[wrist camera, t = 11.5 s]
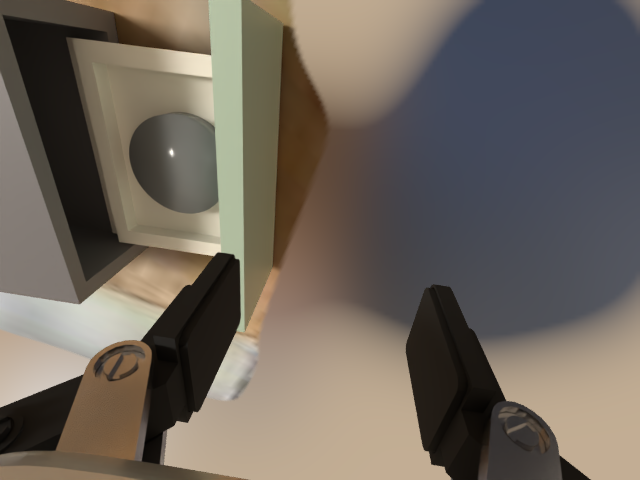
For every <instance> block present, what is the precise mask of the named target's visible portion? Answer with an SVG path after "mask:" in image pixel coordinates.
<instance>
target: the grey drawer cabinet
mask: <svg viewBox="0 0 640 480" xmlns="http://www.w3.org/2000/svg"><path fill="white" fill-rule="evenodd" d="M66 37H70V38H78V39H86V40H94V41H102V42H110V43H117V44H119V42H118V36H117V30H116V24H115V18H114V13H113V12H110V11H106V10H102V9H98V8H94V7H90V6H86V5H82V4H78V3H74V2H70V1H66V0H0V292H5V293H11V294H17V295H24V296H30V297H36V298H43V299H49V300H55V301H62V302H68V303H74V304H81V303H82V302H83V301H84V300H85V299H87V298H88V297H89V296H90V295H91V294H93V293H94V292H95V291H96V290H97V289H99V288H100V287H101V286H102V285H103V284H105V283H106V282H107V281H108V280H109V279H111V278H112V277H113V276H114V275H115V274H116V273H118V272H119V271H120V270H121V269H122V268H124V267H125V266H126V265H127V264H128V263H130V262H131V261H132V260H133V259H134V258H136V257H137V256H138V255H139V254H140V253H142V252H143V251H144V250H145V249H146V248H148V247H149V246H143V245H137V244H130V243H123V242H119V239H118V235H117V234H116V233H113V232H112V227H111V223H110V219H109V215H108V211H107V207H106V202H105V198H104V194H103V190H102V186H101V182H100V177H99V173H98V169H97V165H96V161H95V157H94V152H93V148H92V144H91V140H90V136H89V131H88V127H87V123H86V119H85V115H84V111H83V106H82V102H81V98H80V94H79V90H78V86H77V81H76V77H75V73H74V69H73V65H72V61H71V56H70V52H69V48H68V44H67V40H66Z"/></svg>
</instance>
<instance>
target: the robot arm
mask: <svg viewBox="0 0 640 480" xmlns="http://www.w3.org/2000/svg"><path fill="white" fill-rule="evenodd" d="M240 319H241V294H240V260H239V259H235V255H234V254H228V253H221V252H218V253H216V255H215V256H214V257H213V258H212V260H211V261H210V262H209V264H208V265H207V266H206V267H205V269H204V270H203V271H202V273H201V274H200V275H199V277H198V278H197V279H196V280H195V282H194V283H193V284H192V285H187V286H185V287H184V288H183V289H182V290H181V291H180V293H179V294H178V295H177V296H176V298H175V299H174V300H173V301H172V303H171V304H170V305H169V306H168V308H167V309H166V310H165V311H164V313H163V314H162V315H161V316H160V318H159V319H158V320H157V321H156V323H155V324H154V325H153V326H152V328H151V329H150V330H149V331H148V333H147V334H146V335H145V336H144V337H143V339H142V340H141V341H136V340H128V341H122V342H118V343H115V344H112V345H110V346H108V347H106V348H104V349H103V350H101V351H100V352H98V353H97V354H96V355H95V356H94V357H93V358H92V359H91V360H90V362H89V364H88V366H87V368H86V370H85V373H84V375H81V376H79V377H76V378H74V379H71V380H68V381H66V382H64V383H61V384H58V385H56V386H53V387H51V388H48V389H46V390H43V391H41V392H38V393H36V394H33V395H31V396H28V397H26V398H23V399H21V400H18V401H16V402H14V403H11V404H8V405H6V406H3V407H1V408H0V480H247V479H241V478H236V477H229V476H224V475H218V474H212V473H206V472H201V471H195V470H189V469H183V468H177V467H172V466H165V465H164V456H165V447H166V437H167V429H169V428H171V427H173V426H174V425H175V423H176V421H181V422H186V423H188V421H189V419H190V417H191V415H192V413H193V411H194V412H198V411H199V410H200V408H201V406H202V404H203V402H204V400H205V398H206V396H207V393H208V391H209V389H210V387H211V385H212V383H213V381H214V378H215V376H216V374H217V372H218V370H219V368H220V365H221V363H222V361H223V359H224V357H225V355H226V353H227V350H228V348H229V346H230V344H231V342H232V340H233V337H234V335H235V333H236V331H237V329H238V327H239V324H240ZM406 355H407V361H408V367H409V373H410V378H411V384H412V389H413V395H414V400H415V406H416V411H417V417H418V423H419V428H420V434H421V440H422V444H423V448H424V450H425V451H429V454H430V459H431V464H432V465H437V466H443V467H445V470H446V473H447V474H448V475H449V476H450V477H451V480H590V479H589V478H588V477H586V476H585V475H584V474H583V473H581V472H580V471H579V470H578V469H576V468H575V467H574V466H572V465H571V464H570V463H569V462H567V461H566V460H565V459H563V458H562V457H561V456H560V455H559V450H558V444H557V441H556V437H555V435H554V434H553V432H552V430H551V429H550V427H549V426H548V425H547V424H546V422H545V421H544V420H543V419H542V418H541V417H540V416H538V415H537V414H536V413H535V412H533V411H532V410H530V409H528V408H527V407H525V406H524V405H521V404H518V403H516V402H510V401H506V399H505V397H504V395H503V393H502V391H501V388H500V386H499V384H498V382H497V380H496V378H495V375H494V373H493V371H492V369H491V367H490V365H489V362H488V360H487V358H486V356H485V354H484V351H483V349H482V347H481V345H480V343H479V341H478V338H477V336H476V334H475V332H474V331H473V330H472V329H470V328H469V327H468V325H467V323H466V321H465V318H464V316H463V314H462V312H461V309H460V307H459V305H458V303H457V300H456V298H455V296H454V294H453V291H452V290H451V288H450V287H447V286H441V285H434V284H433V285H432V286H431V288H426V289H425V291H424V293H423V296H422V299H421V302H420V305H419V308H418V311H417V314H416V317H415V320H414V322H413V326H412V328H411V331H410V334H409V337H408V340H407V344H406Z"/></svg>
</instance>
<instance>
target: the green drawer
mask: <svg viewBox="0 0 640 480" xmlns="http://www.w3.org/2000/svg"><path fill="white" fill-rule="evenodd" d="M208 2H209V22H210V41H211V55H205V54H197V53H189V52H181V51H173V50H165V49H157V48H149V47H141V46H133V45H125V44H117V43H110V42H102V41H94V40H86V39H78V38H70V37H66V40H67V44H68V48H69V52H70V56H71V61H72V65H73V69H74V73H75V77H76V81H77V86H78V90H79V94H80V98H81V102H82V106H83V111H84V115H85V119H86V123H87V127H88V131H89V136H90V140H91V144H92V148H93V152H94V157H95V161H96V165H97V169H98V173H99V177H100V182H101V186H102V190H103V194H104V198H105V202H106V207H107V211H108V215H109V219H110V223H111V227H112V232H113V233H116V234H117V235H118V239H119V242H123V243H130V244H137V245H143V246H150V247H157V248H163V249H170V250H177V251H183V252H190V253H197V254H203V255H210V256H215V255H216V253H218V252H221V253H228V254H234V255H235V259H239V260H240V294H241V319H240V324H239V327H238V329H237V331H239V332H245V330H246V328H247V326H248V323H249V321H250V319H251V316H252V314H253V312H254V309H255V307H256V305H257V302H258V300H259V298H260V295H261V293H262V291H263V288H264V286H265V284H266V281H267V279H268V277H269V274H270V272H271V270H272V267H273V248H274V225H275V202H276V179H277V156H278V133H279V110H280V87H281V65H282V42H283V23H282V22H280V21H279V20H277V19H276V18H275V17H273V16H272V15H270V14H269V13H267V12H266V11H264V10H263V9H261V8H260V7H258V6H257V5H256V4H254V3H253V2H251V1H250V0H208ZM171 112H186V113H190V114H194V115H196V116H199V117H201V118H203V119H205V120H206V121H207V122H209V123H210V124H212V125H213V126H214V127H215V139H216V159H217V179H218V198H219V201H218V202H217V203H216V204H215V205H214V206H213V207H211V208H210V209H208V210H206V211H203V212H200V213H194V214H187V213H180V212H176V211H173V210H170V209H168V208H166V207H164V206H162V205H160V204H159V203H157V202H156V201H155V200H153V199H152V198H151V197H150V196H149V195H148V194H147V193H146V192H145V191H144V190H143V188H142V187H141V186H140V184H139V183H138V181H137V179H136V177H135V175H134V173H133V171H132V168H131V164H130V159H129V146H130V141H131V138H132V135H133V133H134V131H135V130H136V128H137V127H138V126H139V125H140V124H141V123H142V122H143V121H145V120H147V119H148V118H151V117H153V116H157V115H162V114H166V113H171Z"/></svg>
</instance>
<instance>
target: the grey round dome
mask: <svg viewBox="0 0 640 480" xmlns="http://www.w3.org/2000/svg"><path fill="white" fill-rule="evenodd" d="M129 159H130V164H131V168H132V171H133V173H134V175H135V177H136V179H137V181H138V183H139V184H140V186H141V187H142V188H143V190H144V191H145V192H146V193H147V194H148V195H149V196H150V197H151V198H152V199H153V200H155V201H156V202H157V203H159V204H160V205H162V206H164V207H166V208H168V209H170V210H173V211H176V212H180V213H187V214H194V213H200V212H203V211H206V210H208V209H210V208H211V207H213V206H214V205H215V204H216V203H217V202H218V201H219V198H218V179H217V159H216V139H215V127H214V126H213V125H212V124H210V123H209V122H207V121H206V120H205V119H203V118H201V117H199V116H196V115H194V114H190V113H186V112H171V113H166V114H162V115H157V116H153V117H151V118H148V119H147V120H145V121H143V122H142V123H141V124H140V125H139V126H138V127H137V128H136V130H135V131H134V133H133V135H132V138H131V141H130V146H129Z"/></svg>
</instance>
